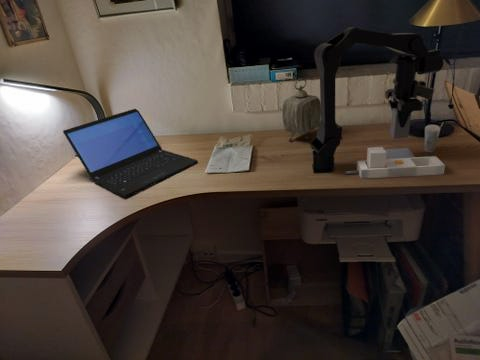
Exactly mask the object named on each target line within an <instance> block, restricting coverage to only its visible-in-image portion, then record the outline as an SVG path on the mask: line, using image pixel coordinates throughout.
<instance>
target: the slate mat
mask: <svg viewBox="0 0 480 360" xmlns="http://www.w3.org/2000/svg"><path fill="white" fill-rule="evenodd" d="M384 150H385V151H386V159H395V158H413V157H416V156H415V155H414V153H413V152H412V151H411V149H409V148H408V147H403V148H402V147H401V148H390V149H385V148H384Z"/></svg>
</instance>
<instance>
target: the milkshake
mask: <svg viewBox="0 0 480 360" xmlns="http://www.w3.org/2000/svg"><path fill="white" fill-rule="evenodd" d="M443 124H444V121H443V122H442V123H441V125H437V124H428V125H426V126H425V127H424V146H423V147H424V148H423V150H424V152H428V153H430V152H431V153H434V152H435V150H436V146H437V142H438V138H439V136H440V131H441V128H442V126H443Z"/></svg>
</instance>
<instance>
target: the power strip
mask: <svg viewBox="0 0 480 360" xmlns="http://www.w3.org/2000/svg"><path fill="white" fill-rule="evenodd" d="M445 168H446V165H445V164H444V163H443V162H442V160H440V158H438V157H437V156H436V155H434V156H433V155H432V156H430V155H429V156H417V157H416V156H415V157H413V158H395V159H386V162H385V168H373V169H368V167H367V159H366V160H365V159H364V160H363V159H362V160H361V159H360V160H357V161H356V170H345V174H346V175H356V174H358V175H359V178H360V179H380V178H382V179H383V178H399V177H419V176H420V177H421V176H437V175H438V176H439V175H440V176H441V175H444V174H445V170H446V169H445Z"/></svg>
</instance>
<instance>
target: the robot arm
mask: <svg viewBox="0 0 480 360" xmlns="http://www.w3.org/2000/svg"><path fill="white" fill-rule="evenodd" d="M356 43H357V44H364V45H371V46H378V47H383V48H387V49H389V50H390V51H394V52H396V53H399V54H395V55H394V56H393V57H392V58H391V59H390V60H389V63H390V64H394V65H395V73H394V79H392V83H393V88H389V89H387V90H386V91H385V93H384V98H385V99H386V100H387V102H388V105H389V107H390V110H391V111H392V109H393V108H395V110H396V113H397V117H398V121H399V124H400V127H404V126H405V124H406V122H407V120H408V118H409V116H410V114H411V115H412V112H420V111H423V107H424V103H423V102H422V101H421V100H420V99H418V98H417V97H421V98H425V99H426V100H430V99H431V98H432V95H433V94H434V92H435V89H433V88H432V87H430V86H428V85H427V82H425V81H423V80H417V79H416V76H417V75H427V74H433V73H434V74H435V73H438V72H440V71H441V70H442V69H443V67H444V63H445V62H444V58H443V56H442V54H441V49H437V48H436V49H430V50H428V48H427V47H426V45H425V43H424V38H423V35H422V34H419V33H411V32H397V33H396V32H395V33H387V32H380V31H374V30H368V29H367V30H366V29H360V28H359V27H353V26H352V27H351V26H350V27H346V28H345V29H344V30H343V31H342V32H341V33H339V34H337V35H336V36H333V38H331V39H329V40H328V41H327V42H324V43H321V44H319V45H318V46H317V47H316V48H315V49H314V55H313V56H314V62H315V66H316V69H317V72H318V75H319V90H320V91H319V94H320V96H319V97H320V98H319V100H320V107H321V119H320V124H319V126H318V127H317V128H316V129H317V131H316V136H315V137H314V138H313V139H312V140H311V142H310V143H309V146H310V148H311V150H312V164H311V166H312V173H313V174H319V173H323V174H324V173H333V172H334V168H335V154H336V150H337V148H338V146H340V145H341V140H342V141H343V137H342V134H343V133H342V132H343V127H342V126H340V125H339V124H338V123H337V121H336V75H337V73H338V71H339V68H340V64H341V61H342V60H341V58H342V57H343V56H344V55H345V54H346V53H348V52H349V51H350V50H351V48H352V47H353V46H354V45H355V44H356ZM400 54H404V56H402V55H400ZM405 54H406V55H405ZM412 56H413V57H412ZM414 56H415V57H414Z"/></svg>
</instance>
